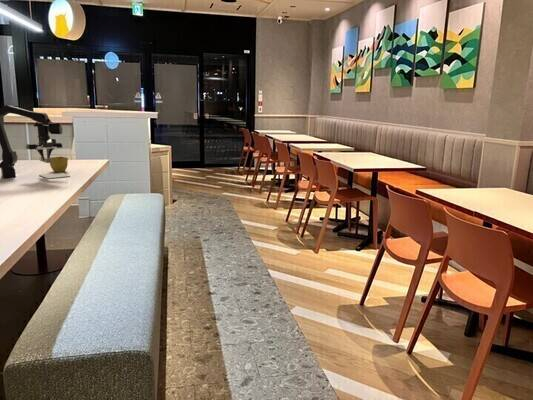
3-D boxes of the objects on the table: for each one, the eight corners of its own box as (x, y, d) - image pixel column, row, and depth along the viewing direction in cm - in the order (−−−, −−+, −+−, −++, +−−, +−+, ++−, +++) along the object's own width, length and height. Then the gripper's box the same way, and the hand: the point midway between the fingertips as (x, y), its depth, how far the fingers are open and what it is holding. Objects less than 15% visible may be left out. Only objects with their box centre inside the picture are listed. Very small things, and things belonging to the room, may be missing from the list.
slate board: (47, 179, 259) (47, 178, 259) (39, 175, 269) (39, 174, 269) (70, 176, 268) (69, 175, 268) (60, 173, 278) (60, 172, 278)
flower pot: (56, 172, 280) (54, 159, 278) (49, 171, 286) (48, 157, 283) (69, 171, 287) (68, 157, 285) (62, 169, 292) (61, 156, 290)
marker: (46, 163, 259) (46, 158, 259) (39, 160, 268) (39, 156, 267) (51, 162, 261) (50, 158, 260) (44, 160, 269) (43, 156, 269)
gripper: (30, 135, 248) (33, 163, 251) (64, 134, 261) (66, 160, 264) (24, 134, 255) (27, 160, 259) (57, 133, 268) (60, 158, 272)
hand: (45, 160), depth 263 cm, fingers closed on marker, 2 cm apart
